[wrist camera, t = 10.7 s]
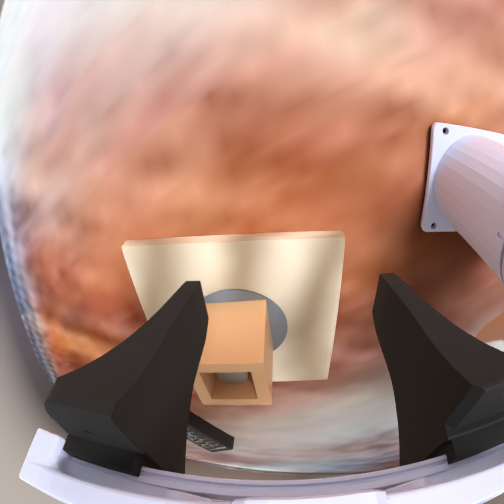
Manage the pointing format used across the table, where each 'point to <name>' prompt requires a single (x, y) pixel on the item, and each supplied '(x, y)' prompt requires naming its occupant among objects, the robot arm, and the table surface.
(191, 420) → the multiport hub
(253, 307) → the collar
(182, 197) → the table surface
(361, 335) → the table surface
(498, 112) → the table surface
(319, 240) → the post board
